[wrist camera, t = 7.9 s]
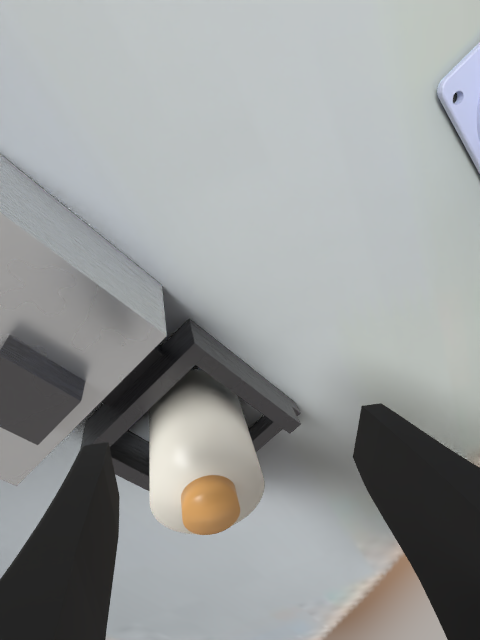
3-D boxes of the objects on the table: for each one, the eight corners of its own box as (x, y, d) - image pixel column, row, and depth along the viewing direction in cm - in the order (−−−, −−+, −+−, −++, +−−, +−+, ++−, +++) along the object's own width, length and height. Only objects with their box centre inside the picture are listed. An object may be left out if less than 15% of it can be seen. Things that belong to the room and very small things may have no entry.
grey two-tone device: (300, 397, 24) (345, 479, 19) (196, 489, 26) (210, 589, 20) (-86, 84, 14) (-232, 65, 8) (-217, 268, 16) (-411, 350, 10)
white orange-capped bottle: (249, 376, 22) (287, 475, 16) (224, 444, 24) (249, 555, 18) (160, 363, 21) (165, 466, 15) (140, 436, 23) (138, 554, 17)
